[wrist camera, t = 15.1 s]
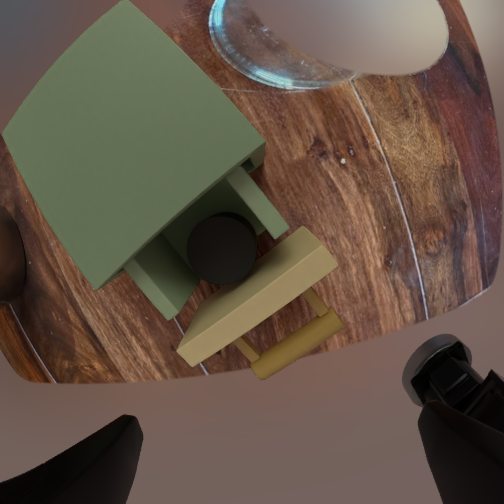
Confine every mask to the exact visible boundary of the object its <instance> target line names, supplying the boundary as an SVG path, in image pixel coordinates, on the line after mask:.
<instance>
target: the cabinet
mask: <svg viewBox="0 0 504 504" xmlns="http://www.w3.org/2000/svg"><path fill="white" fill-rule="evenodd" d="M2 136H3V138H4V141H5V143H6V145H7V147H8V149H9V152H10V154H11V156H12V158H13V160H14V162H15V164H16V166H17V168H18V170H19V172H20V174H21V176H22V178H23V180H24V182H25V184H26V185H27V187H28V189H29V191H30V193H31V195H32V196H33V198H34V200H35V202H36V203H37V205H38V207H39V209H40V210H41V212H42V214H43V215H44V217H45V219H46V220H47V222H48V223H49V225H50V227H51V228H52V230H53V231H54V233H55V234H56V236H57V238H58V239H59V241H60V242H61V244H62V245H63V247H64V248H65V249H66V251H67V252H68V254H69V255H70V257H71V258H72V260H73V261H74V262H75V264H76V265H77V267H78V268H79V269H80V271H81V272H82V273H83V275H84V276H85V278H86V279H87V280H88V282H89V283H90V284H91V285H92V287H93V288H94V289H95V291H97V290H99V289H100V288H102V287H103V286H104V285H106V284H107V283H109V282H110V281H112V280H113V279H115V278H117V277H118V276H120V275H121V274H123V273H124V272H126V271H125V269H124V268H123V267H124V266H125V265H126V264H127V263H128V262H129V261H130V260H131V259H132V258H133V257H134V256H135V255H136V254H137V253H138V252H139V251H140V250H142V249H143V248H144V247H145V246H146V245H147V244H148V243H149V242H150V241H151V240H152V239H153V238H154V237H156V236H157V235H158V234H159V233H160V232H161V231H162V230H163V229H164V228H166V227H167V226H168V225H169V224H170V223H171V222H172V221H173V220H175V219H176V218H177V217H178V216H179V215H180V214H181V213H183V212H184V211H185V210H186V209H187V208H188V207H189V206H191V205H192V204H193V203H194V202H195V201H196V200H198V199H199V198H200V197H201V196H202V195H204V194H205V193H206V192H207V191H208V190H210V189H211V188H212V187H213V186H214V185H216V184H217V183H218V182H219V181H221V180H222V179H223V178H224V177H225V176H227V175H228V174H229V173H230V172H232V171H233V170H234V169H235V168H237V167H238V166H239V165H240V164H241V166H242V167H243V168H244V169H245V171H246V172H247V173H248V174H250V173H251V172H252V171H253V170H255V169H256V168H257V167H259V166H260V165H261V164H262V163H264V155H265V145H266V141H265V140H264V138H263V137H262V136H261V135H260V134H259V133H258V131H257V130H256V129H255V128H254V127H253V126H252V124H251V123H250V122H249V121H248V120H247V119H246V117H245V116H244V115H243V114H242V113H241V112H240V111H239V109H238V108H237V107H236V106H235V105H234V104H233V103H232V102H231V101H230V99H229V98H228V97H227V96H226V95H225V94H224V93H223V92H222V91H221V90H220V88H219V87H218V86H217V85H216V84H215V83H214V82H213V81H212V80H211V79H210V78H209V77H208V76H207V75H206V74H205V73H204V72H203V70H202V69H201V68H200V67H199V66H198V65H197V64H196V63H195V62H194V61H193V60H192V59H191V58H190V57H189V56H188V55H187V54H186V53H185V52H184V51H183V50H182V49H181V48H180V47H179V46H178V45H177V44H176V43H175V42H174V41H173V40H172V39H170V38H169V37H168V36H167V35H166V34H165V33H164V32H163V31H162V30H161V29H160V28H159V27H158V26H157V25H156V24H154V23H153V22H152V21H151V20H150V19H149V18H148V17H147V16H146V15H145V14H143V13H142V12H141V11H140V10H139V9H137V7H135V6H134V5H133V4H132V3H131V2H130V1H128V0H122V1H120V2H119V3H118V4H116V5H115V6H114V7H113V8H111V9H110V10H109V11H108V12H107V13H106V14H104V15H103V16H102V17H101V18H100V19H98V20H97V21H96V22H95V23H94V24H93V25H92V26H91V27H89V28H88V29H87V30H86V31H85V32H84V33H83V34H82V35H81V36H80V37H79V38H78V39H77V40H76V41H75V42H74V43H73V44H72V45H71V46H70V47H69V48H68V49H67V50H66V51H65V52H64V53H63V54H62V55H61V56H60V57H59V59H58V60H57V61H56V62H55V63H54V64H53V65H52V66H51V68H50V69H49V70H48V71H47V72H46V73H45V75H44V76H43V77H42V78H41V80H40V81H39V82H38V83H37V85H36V86H35V87H34V88H33V89H32V91H31V92H30V93H29V95H28V96H27V97H26V99H25V100H24V102H23V103H22V104H21V106H20V107H19V109H18V110H17V111H16V113H15V114H14V116H13V117H12V119H11V120H10V122H9V123H8V125H7V126H6V128H5V130H4V131H3V133H2Z"/></svg>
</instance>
